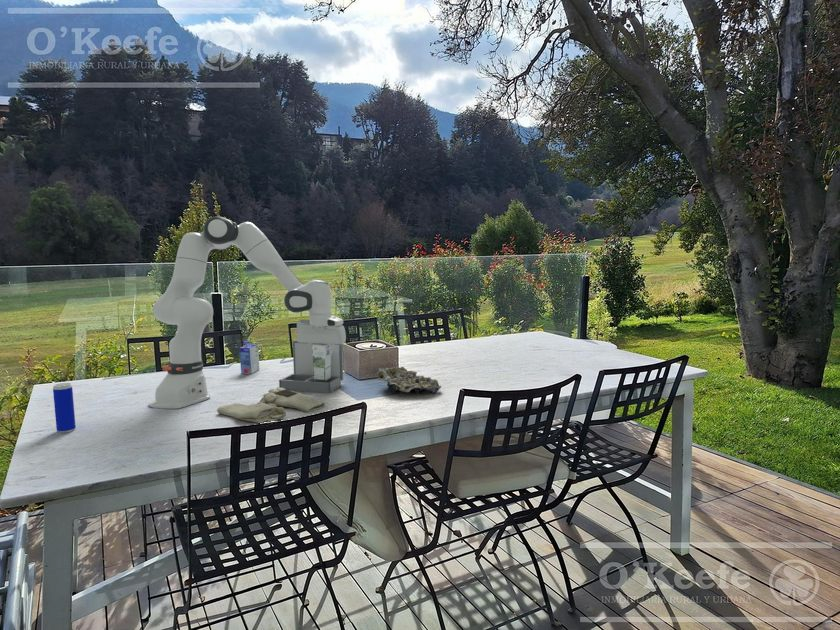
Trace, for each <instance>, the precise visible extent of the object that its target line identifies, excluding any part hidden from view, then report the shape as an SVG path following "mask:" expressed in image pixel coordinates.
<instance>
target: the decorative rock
mask: <svg viewBox="0 0 840 630" xmlns="http://www.w3.org/2000/svg"><path fill="white" fill-rule="evenodd" d="M376 375H377V378H378V380H379V381H380V382H382V381H383V382H386V383H387V384H386V386H387V387H388V388H389V389H390V390H391V391H392V392H396V391H401V392H404V393H409V392H411V391H412V390H414V392H415V393H416V394H418V393H420V392H422V391H424V390H427V391H429V392H430V393H431V394H434V393H438V392H439V391H440V390H441V388H442V385H439V381H438V380H437V378H434V379H433V378H431V377H429V376H428V377H425V376H424V375H417V371H415V370H408V369H406V368H405V367H404V366H400V367H399V366H397V365H394V366H391V367H384V368H383V367H382V368H381V367H379V368H378V371H377V372H376Z"/></svg>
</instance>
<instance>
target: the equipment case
mask: <svg viewBox="0 0 840 630" xmlns="http://www.w3.org/2000/svg"><path fill="white" fill-rule="evenodd" d="M314 344H315V343H313V345H314ZM343 344H344V343H343ZM343 344H335V346H334V348H333V350H332V354H331V378H329V379H328V380H326V381H324V380H313V354H311V350H310V348H309V346H308V343H299V342H298V341H297V339H293V340H292V354H293V355H292V356H293V357H292V359H293V361H292V362H293V373H290V374H289V375H287V376H284V377H282V378H280V379H279V380H278V382H279V383H278V385H279V386H278V387H282V388H284V389H286V390H290V391H294V392H306V393H307V392H309V393H310V392H311V393H321V394H324V393H325V394H331V393H333V392H334V391H335V390H338V389H339V388H341V385H342V383H341V382H342V381H344V355H343V354H344V346H343ZM313 345H312V346H313Z"/></svg>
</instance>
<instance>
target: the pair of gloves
mask: <svg viewBox="0 0 840 630" xmlns="http://www.w3.org/2000/svg"><path fill="white" fill-rule="evenodd" d="M267 392H268V393H267ZM267 392H266V393H264V394H263V395H262V398H261V399H260V401H259V402H257V403H252V404H242V403H236V402H235V403H231V404H227V405H223V406H219V407H217V409H216V412H217V413H218V414H220V415H224V416H228V417H232V418H236V419H237V420H242V421H244V422H245V421H246V422H253V423H256V424H258V423H264V422H271V421H277V422H278V421H279V420H281V419H284V418H285V417H286V416H287V412H286V410H285V408H290V409H296V410H297V409H298V410H300V411H302V412H306V413H312V412H314V411H316V410H320V409H321V408H324V407H325V401H323V400H320V399H316V398H313V397H309V396H307V395H304V394H303V393H300V392H298V391H290V390H286V389H284V388H282V387H279V386H278V387H276V389H275V388H271V389H269V390H268V391H267Z"/></svg>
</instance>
